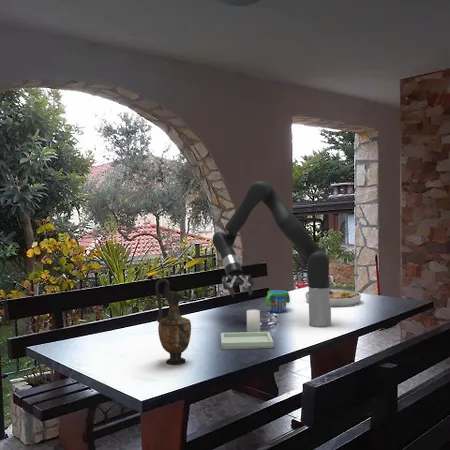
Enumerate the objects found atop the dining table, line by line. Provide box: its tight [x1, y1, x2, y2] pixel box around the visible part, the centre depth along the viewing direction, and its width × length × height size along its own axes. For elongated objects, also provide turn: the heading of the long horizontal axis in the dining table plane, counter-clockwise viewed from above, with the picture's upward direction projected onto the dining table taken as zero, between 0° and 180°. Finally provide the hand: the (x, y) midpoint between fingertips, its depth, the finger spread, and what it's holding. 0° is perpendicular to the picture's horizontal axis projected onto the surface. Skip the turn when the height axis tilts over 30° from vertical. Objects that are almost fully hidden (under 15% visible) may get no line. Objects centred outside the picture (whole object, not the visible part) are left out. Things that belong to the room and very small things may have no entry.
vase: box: [154, 278, 192, 366], centre depth 178 cm, size 12×12×30 cm
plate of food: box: [305, 288, 362, 308], centre depth 278 cm, size 30×30×8 cm
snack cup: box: [265, 289, 291, 313], centre depth 258 cm, size 16×10×10 cm
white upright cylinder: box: [246, 308, 261, 332], centre depth 214 cm, size 6×6×10 cm
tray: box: [220, 331, 275, 350], centre depth 200 cm, size 20×15×2 cm
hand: (242, 295), depth 225 cm, fingers open, 8 cm apart
